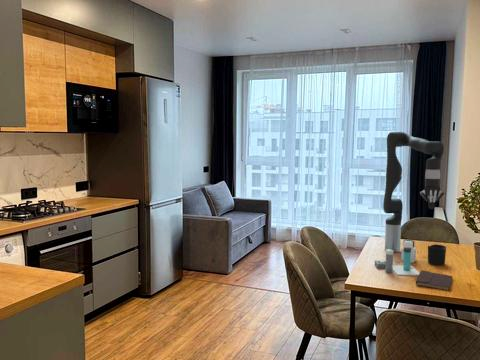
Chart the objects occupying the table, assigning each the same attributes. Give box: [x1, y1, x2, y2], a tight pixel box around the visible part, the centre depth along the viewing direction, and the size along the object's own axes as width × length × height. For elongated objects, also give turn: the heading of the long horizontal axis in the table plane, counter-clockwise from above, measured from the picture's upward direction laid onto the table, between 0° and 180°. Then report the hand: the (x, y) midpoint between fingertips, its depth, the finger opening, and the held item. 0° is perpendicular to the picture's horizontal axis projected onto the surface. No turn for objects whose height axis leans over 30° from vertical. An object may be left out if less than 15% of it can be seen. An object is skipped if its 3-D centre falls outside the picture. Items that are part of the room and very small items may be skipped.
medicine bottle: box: [400, 239, 417, 264], centre depth 248 cm, size 7×7×12 cm
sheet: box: [393, 265, 420, 277], centre depth 228 cm, size 16×12×1 cm
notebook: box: [415, 269, 453, 292], centre depth 210 cm, size 15×20×2 cm
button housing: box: [374, 260, 386, 270], centre depth 236 cm, size 7×7×2 cm
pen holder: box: [427, 243, 447, 266], centre depth 242 cm, size 9×9×10 cm
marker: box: [402, 247, 412, 271], centre depth 228 cm, size 4×4×12 cm
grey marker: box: [384, 249, 394, 274], centre depth 226 cm, size 4×4×12 cm
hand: (431, 208), depth 236 cm, fingers closed
